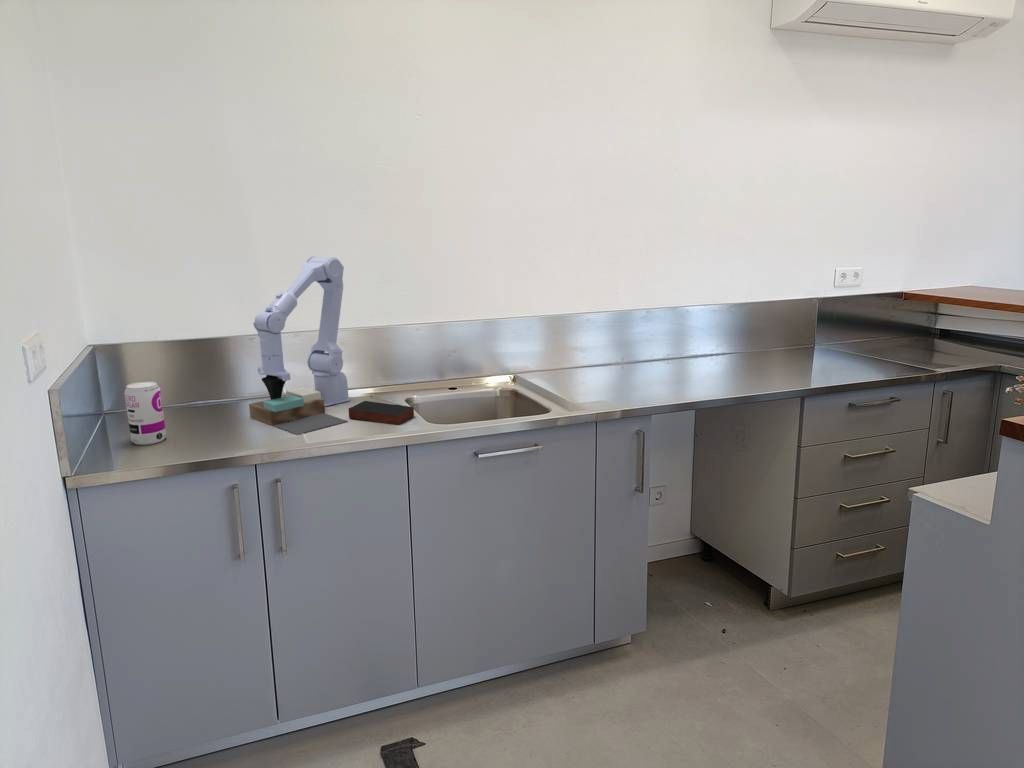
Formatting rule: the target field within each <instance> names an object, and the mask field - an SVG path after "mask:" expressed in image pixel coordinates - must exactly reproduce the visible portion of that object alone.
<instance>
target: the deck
mask: <svg viewBox="0 0 1024 768" xmlns="http://www.w3.org/2000/svg"><path fill="white" fill-rule="evenodd" d="M283 397H286V395H285V396H283ZM267 400H268V399H266V400H260V401H256V402H252V403H248V409H249V417H250V418H251V419H252V420H256V421H258V422H262V423H264V424H266V425H270V426H272V427H273V425H277V424H281V423H285V422H287V421H292V420H297V419H301V418H305V417H309V416H314V415H318V414H322V413H325V414H326V411H325V410H326V408H325V407H326V406H325V407H324V399H317V400H312V401H308V402H304V406H300V407H296V408H291V409H287V410H282V411H278V412H273V411H270V410H267V409H265V408H264V404H263V401H267ZM269 400H271V398H270V399H269Z"/></svg>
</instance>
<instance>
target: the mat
mask: <svg viewBox="0 0 1024 768" xmlns="http://www.w3.org/2000/svg"><path fill="white" fill-rule="evenodd" d="M348 422H349V421H348V420H347V419H343V418H341V417H338V416H333V415H332V414H328V413H326V412H325V413H321V414H317V415H313V416H309V417H305V418H301V419H297V420H293V421H289V422H284V423H280V424H276V425H272V427H274V428H277V429H280V430H283V431H284V430H285V432H287V431H288V433H290V432H291V433H290V434H292V433H294V434H293V435H295V434H300V435H302V434H301V433H304V434H307V433H311V432H315V431H318V430H319V431H320V430H322V429H326V428H330V427H335V426H337V425H342V424H345V423H348Z"/></svg>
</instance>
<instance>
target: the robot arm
mask: <svg viewBox="0 0 1024 768" xmlns="http://www.w3.org/2000/svg"><path fill="white" fill-rule="evenodd" d="M343 277H344V265H343V264H342V263H341V260H339V259H338V258H337V257H322V256H321V257H320V256H310V257H308V258H307V259H306V261H305V262H304V263H303V264H302V270H301V271H300V272H299V274H298V275H297V277H296V278H295V279H294V281H293V282H292V283H291V285H290V286H289V287H288V289H287V290H286V291H280V292H277V293H276V295H275V298H274V299H273V301H272V302H271V303H270V304H269V305H267V306H266V307H265V310H264V311H260V312H258V314H257V315H256V316H255V318H254V321H253V322H252V323H253V327H254V329H255V331H256V332H257V336H258V337H259V346H260V356H261V365H260V366H257V374H259V375H262V376H263V375H266V376H265V377H262V378H261V381H262V383H263V384H264V386H265V387H266V389H267V392H268V394H269V397H270V399H271V400H272V399H277V398H281V397H283V396H282V395H283V389H284V386H285V384H286V382H287V381H291V380H292V379H291V373H290V372H288V371H287V370H286V368H285V367H284V366H285V365H284V364H285V363H284V354H283V353H284V352H283V344H282V342H283V341H282V331H284V329H285V326H286V322H287V318H288V316H290V315H291V313H292V312H293V311H294V310H295V308H296V307H297V306H298V298H300V296H301V295H303V293H304V292H305V291H306V290H308V288H310V286H311V285H312V284H313V283H314V282H316V283H317V284H319V285H320V287H321V288H322V289H323V296H322V302H321V304H322V305H321V313H320V320H319V321H320V322H319V328H318V329H319V330H318V335H317V336H318V338H317V342H315V343H314V344H313V345H311V347H310V348H311V349H310V352H309V354H308V357H307V360H306V363H307V367H308V369H309V371H311V374H312V375H313V381H314V390H316V391H319V392H321V399H324V407H328V406H329V407H330V406H333V405H337V404H341V403H345V402H350V401H351V399H350V398H349V389H348V388H349V386H348V377H347V376H346V374H345V373H344V372H342V369H343V367H344V360H343V350H342V349H341V347H339V345H337V342H338V341H337V340H338V333H339V325H340V324H339V323H340V317H341V308H342V301H343V292H344V282H343Z"/></svg>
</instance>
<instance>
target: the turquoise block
mask: <svg viewBox="0 0 1024 768" xmlns="http://www.w3.org/2000/svg"><path fill="white" fill-rule="evenodd" d="M285 396H286V395H285ZM266 400H267V401H265V400H262V401H263V404H264V408H265V409H267V410H270V411H273V412H278V411H282V410H287V409H291V408H296V407H300V406H304V399H303V398H300V397H296V396H293V395H291V396H286V397H284V396H281V398H277V399H272V400H270V399H266Z"/></svg>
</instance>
